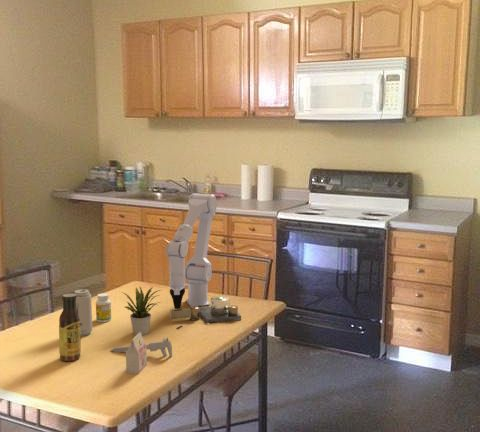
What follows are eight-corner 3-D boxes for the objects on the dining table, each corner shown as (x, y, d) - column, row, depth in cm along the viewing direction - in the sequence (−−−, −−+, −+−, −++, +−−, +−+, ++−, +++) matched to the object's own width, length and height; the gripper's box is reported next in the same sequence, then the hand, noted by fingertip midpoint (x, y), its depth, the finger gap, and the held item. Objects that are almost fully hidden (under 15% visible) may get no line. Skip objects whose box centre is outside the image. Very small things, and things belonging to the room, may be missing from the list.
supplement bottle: (112, 321, 210) (111, 295, 209) (97, 323, 208) (96, 297, 207) (109, 317, 215) (109, 292, 214) (95, 318, 213) (94, 293, 211)
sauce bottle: (69, 364, 172) (66, 299, 169) (55, 359, 175) (52, 296, 172) (86, 356, 178) (83, 294, 175) (72, 352, 181) (69, 291, 178)
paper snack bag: (126, 373, 166) (125, 339, 165) (134, 363, 173) (134, 331, 171) (138, 374, 165) (137, 340, 164) (146, 364, 172) (146, 332, 170)
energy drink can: (70, 333, 198) (69, 291, 195) (86, 329, 202) (84, 287, 200) (80, 337, 194) (78, 294, 191) (95, 333, 198) (94, 290, 196)
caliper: (172, 356, 179) (172, 337, 178) (171, 358, 177) (170, 338, 177) (111, 351, 183) (110, 332, 182) (109, 352, 182) (109, 333, 181)
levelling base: (167, 314, 218) (166, 296, 217) (229, 308, 226) (229, 291, 225) (176, 329, 202) (176, 310, 201) (243, 321, 210) (243, 303, 209)
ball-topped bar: (198, 316, 215) (198, 305, 215) (200, 319, 212) (200, 308, 211) (169, 319, 212) (169, 308, 211) (171, 322, 209) (171, 311, 208)
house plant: (173, 332, 199) (172, 286, 196) (141, 343, 189) (140, 295, 186) (147, 323, 208) (146, 279, 206) (115, 333, 198) (114, 286, 196)
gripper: (187, 277, 208) (188, 314, 210) (188, 268, 223) (188, 302, 225) (168, 278, 208) (168, 314, 210) (169, 268, 222) (170, 302, 224)
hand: (177, 308), depth 217 cm, fingers closed
